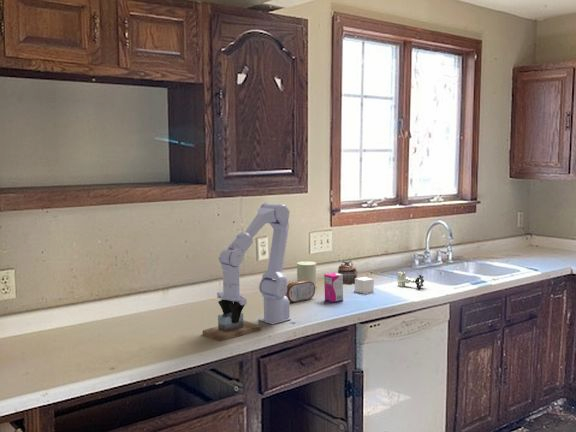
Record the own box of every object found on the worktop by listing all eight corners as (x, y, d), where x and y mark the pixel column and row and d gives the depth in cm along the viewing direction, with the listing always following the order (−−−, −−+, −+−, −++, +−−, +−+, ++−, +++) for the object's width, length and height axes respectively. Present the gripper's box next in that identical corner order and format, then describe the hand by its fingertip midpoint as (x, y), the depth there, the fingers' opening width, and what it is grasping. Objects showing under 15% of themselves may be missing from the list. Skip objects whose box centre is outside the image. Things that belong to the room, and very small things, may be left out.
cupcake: (338, 283, 280) (338, 263, 279) (337, 279, 290) (337, 259, 289) (358, 283, 280) (358, 263, 279) (356, 279, 290) (356, 259, 289)
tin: (312, 297, 255) (311, 278, 254) (316, 298, 252) (316, 279, 251) (284, 302, 246) (283, 283, 245) (288, 304, 243) (288, 284, 242)
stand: (243, 324, 215) (243, 320, 215) (260, 330, 208) (260, 325, 207) (202, 334, 203) (202, 330, 203) (219, 341, 196) (219, 336, 195)
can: (314, 284, 279) (314, 260, 277) (318, 289, 270) (318, 263, 268) (295, 285, 277) (295, 260, 276) (298, 289, 268) (298, 264, 267)
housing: (218, 329, 204) (217, 315, 203) (236, 324, 209) (236, 311, 208) (225, 331, 201) (224, 317, 200) (243, 327, 206) (243, 313, 205)
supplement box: (334, 298, 252) (334, 272, 251) (343, 301, 247) (343, 274, 246) (324, 300, 249) (324, 273, 248) (332, 303, 244) (332, 276, 243)
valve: (394, 286, 274) (417, 290, 266) (394, 272, 273) (417, 276, 266) (401, 284, 279) (424, 287, 271) (401, 270, 278) (424, 273, 271)
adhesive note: (373, 292, 264) (373, 279, 263) (363, 294, 260) (363, 280, 260) (364, 289, 269) (365, 276, 268) (354, 291, 265) (354, 278, 265)
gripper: (209, 281, 206) (210, 319, 208) (234, 288, 195) (235, 328, 197) (226, 278, 211) (226, 315, 212) (251, 285, 200) (251, 323, 202)
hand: (231, 321), depth 205 cm, fingers closed on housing, 4 cm apart
